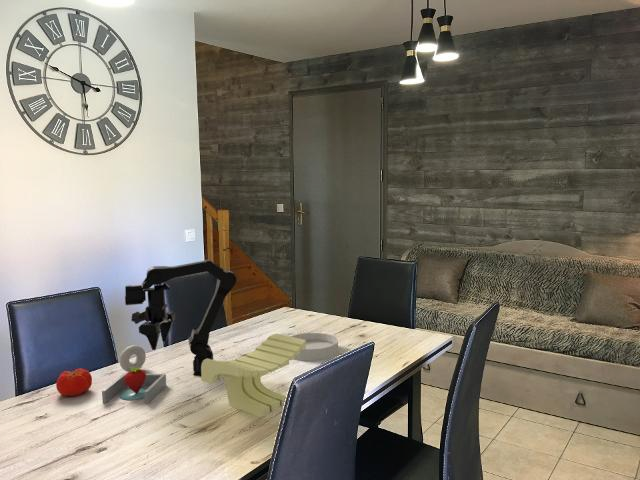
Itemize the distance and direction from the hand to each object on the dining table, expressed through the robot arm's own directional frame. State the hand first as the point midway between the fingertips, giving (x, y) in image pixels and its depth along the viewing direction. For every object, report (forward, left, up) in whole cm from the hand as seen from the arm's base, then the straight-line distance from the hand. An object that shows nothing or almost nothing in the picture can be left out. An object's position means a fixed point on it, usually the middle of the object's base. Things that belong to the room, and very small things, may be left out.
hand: (159, 345), depth 183 cm
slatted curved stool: (-39, +19, -12) cm, 45 cm away
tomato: (+24, +14, -12) cm, 30 cm away
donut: (+13, -6, -12) cm, 19 cm away
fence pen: (+3, +14, -12) cm, 19 cm away
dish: (-51, -30, -12) cm, 61 cm away
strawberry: (+3, +14, -12) cm, 18 cm away
